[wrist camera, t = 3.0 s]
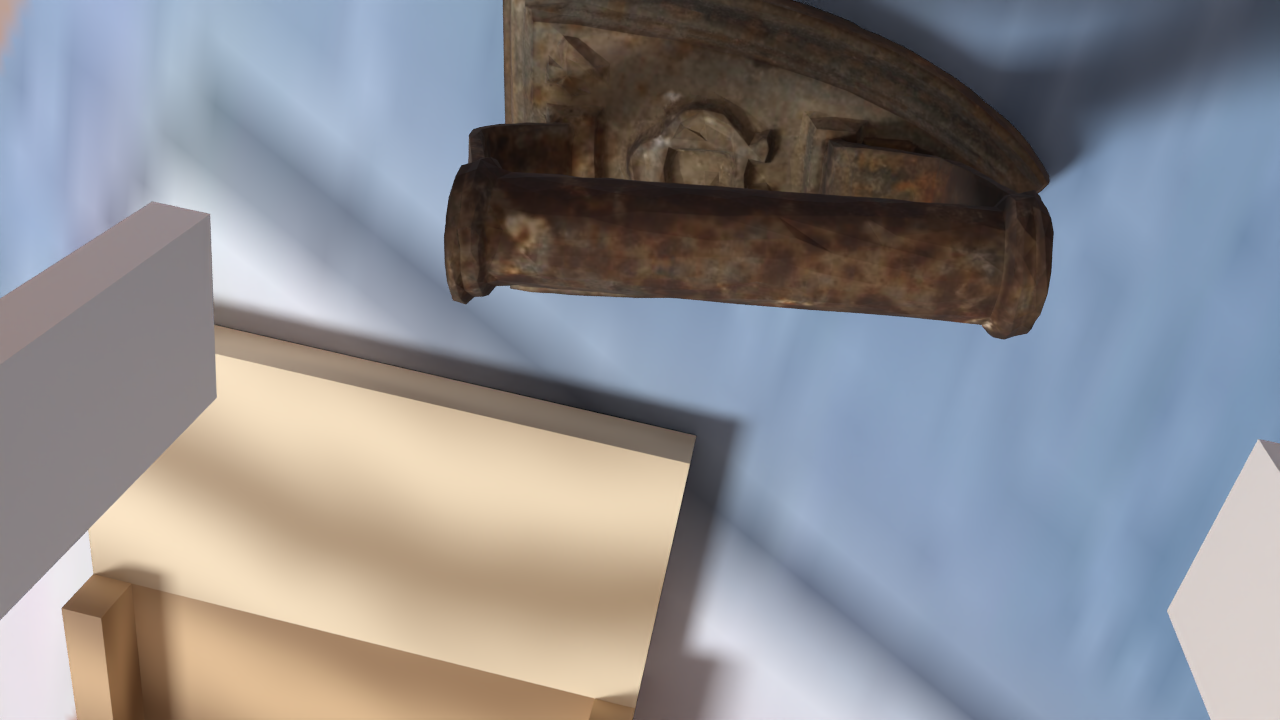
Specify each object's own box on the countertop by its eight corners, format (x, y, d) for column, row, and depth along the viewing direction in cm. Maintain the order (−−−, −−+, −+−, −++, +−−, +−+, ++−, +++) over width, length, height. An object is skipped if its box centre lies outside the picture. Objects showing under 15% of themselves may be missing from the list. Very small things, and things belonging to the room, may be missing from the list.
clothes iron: (474, -54, 22) (421, -13, 13) (1019, -36, 23) (1332, 15, 14) (482, 278, 25) (443, 507, 16) (967, 282, 26) (1200, 499, 16)
